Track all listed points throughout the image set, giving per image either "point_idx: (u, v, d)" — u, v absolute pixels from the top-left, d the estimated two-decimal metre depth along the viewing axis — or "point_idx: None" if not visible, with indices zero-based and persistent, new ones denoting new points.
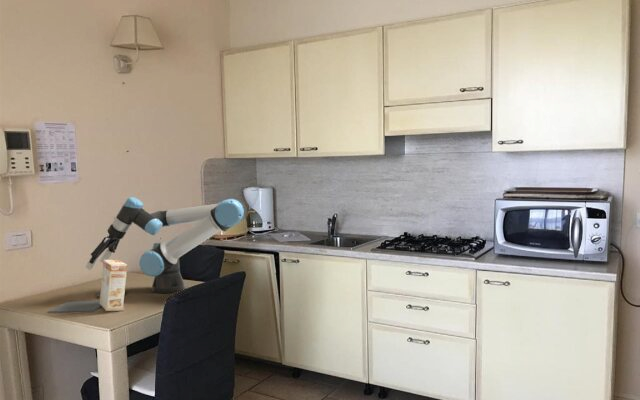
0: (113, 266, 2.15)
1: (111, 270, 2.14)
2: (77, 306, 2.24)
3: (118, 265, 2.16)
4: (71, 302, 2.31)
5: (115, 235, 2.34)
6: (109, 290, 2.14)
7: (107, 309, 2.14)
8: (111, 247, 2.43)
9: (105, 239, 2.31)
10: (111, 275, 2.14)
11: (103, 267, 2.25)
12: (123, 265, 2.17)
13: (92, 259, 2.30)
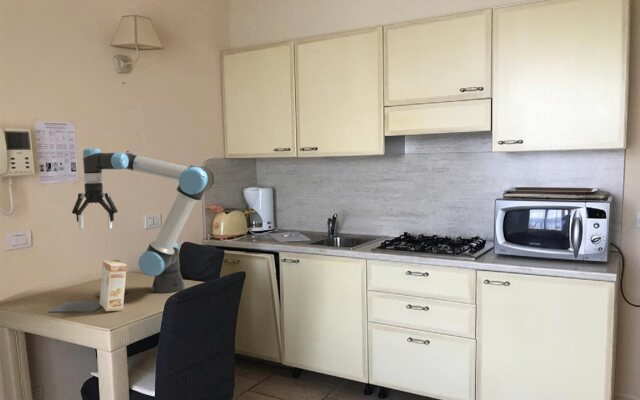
0: (113, 266, 2.15)
1: (111, 270, 2.14)
2: (77, 306, 2.24)
3: (118, 265, 2.16)
4: (71, 302, 2.31)
5: None
6: (109, 290, 2.14)
7: (107, 309, 2.14)
8: None
9: None
10: (111, 275, 2.14)
11: (103, 267, 2.25)
12: (123, 265, 2.17)
13: None
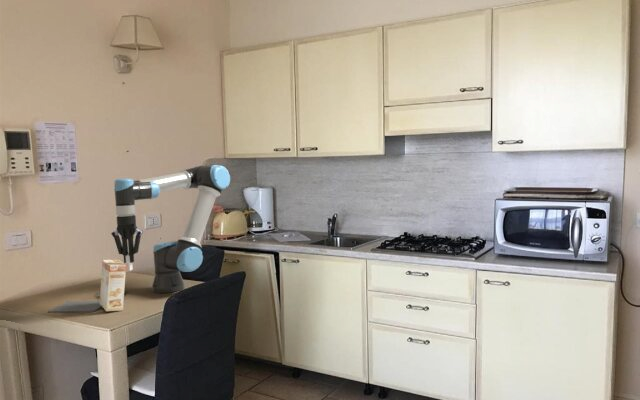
0: (112, 266, 2.14)
1: (110, 270, 2.14)
2: (77, 306, 2.24)
3: (117, 265, 2.15)
4: (71, 302, 2.31)
5: None
6: (108, 290, 2.14)
7: (107, 309, 2.14)
8: None
9: None
10: (110, 275, 2.14)
11: (102, 267, 2.24)
12: (122, 265, 2.17)
13: None
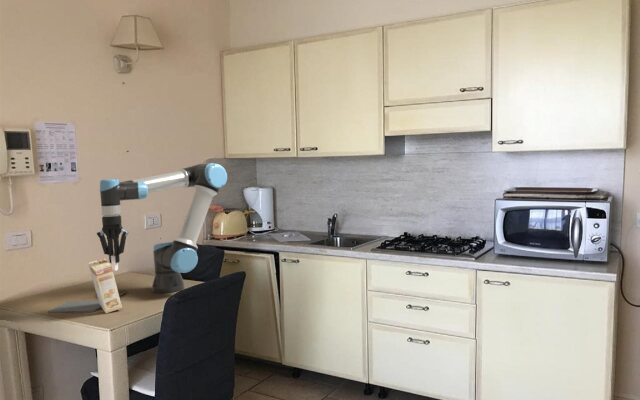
0: (97, 270, 2.10)
1: (97, 275, 2.10)
2: (77, 306, 2.24)
3: (102, 268, 2.11)
4: (71, 302, 2.31)
5: (102, 222, 2.17)
6: (102, 294, 2.12)
7: (106, 311, 2.14)
8: None
9: None
10: (98, 279, 2.11)
11: (90, 270, 2.21)
12: (107, 266, 2.12)
13: None
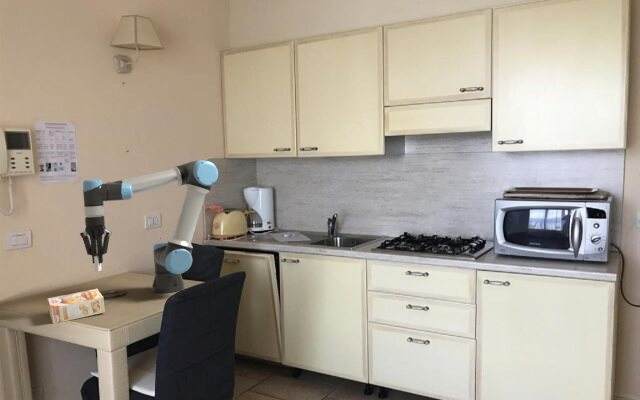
0: (54, 320, 2.03)
1: (59, 321, 2.04)
2: None
3: (53, 316, 2.03)
4: None
5: (85, 222, 2.18)
6: (82, 316, 2.09)
7: (103, 311, 2.13)
8: None
9: None
10: (65, 319, 2.05)
11: None
12: (52, 311, 2.03)
13: None
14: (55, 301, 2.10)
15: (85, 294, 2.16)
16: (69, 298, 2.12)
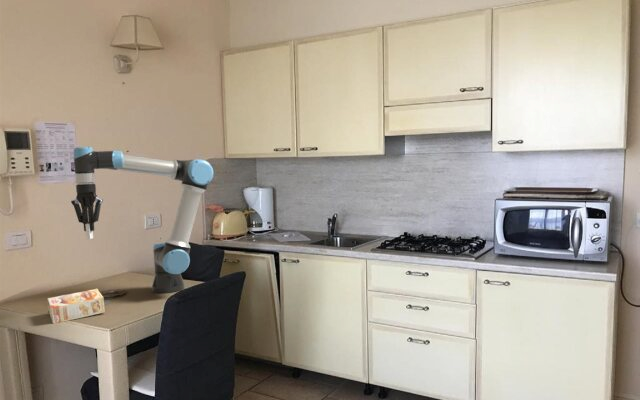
0: (54, 320, 2.03)
1: (59, 321, 2.04)
2: None
3: (53, 316, 2.03)
4: None
5: (76, 190, 2.17)
6: (82, 316, 2.09)
7: (103, 311, 2.13)
8: None
9: None
10: (65, 319, 2.05)
11: None
12: (52, 311, 2.03)
13: None
14: (55, 301, 2.10)
15: (85, 294, 2.16)
16: (69, 298, 2.12)
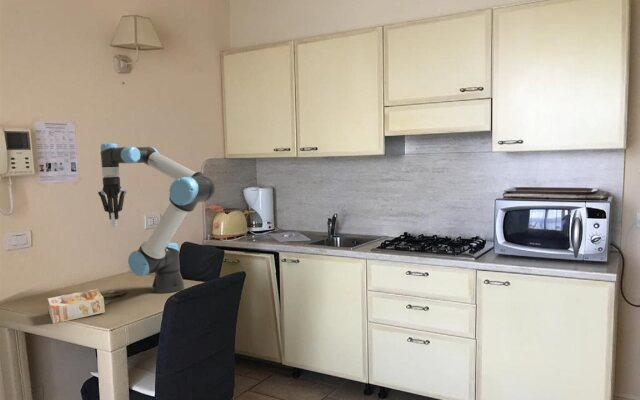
0: (54, 320, 2.03)
1: (59, 321, 2.04)
2: None
3: (53, 316, 2.03)
4: None
5: None
6: (82, 316, 2.09)
7: (103, 311, 2.13)
8: None
9: None
10: (65, 319, 2.05)
11: None
12: (52, 311, 2.03)
13: None
14: (55, 301, 2.10)
15: (85, 294, 2.16)
16: (69, 298, 2.12)
